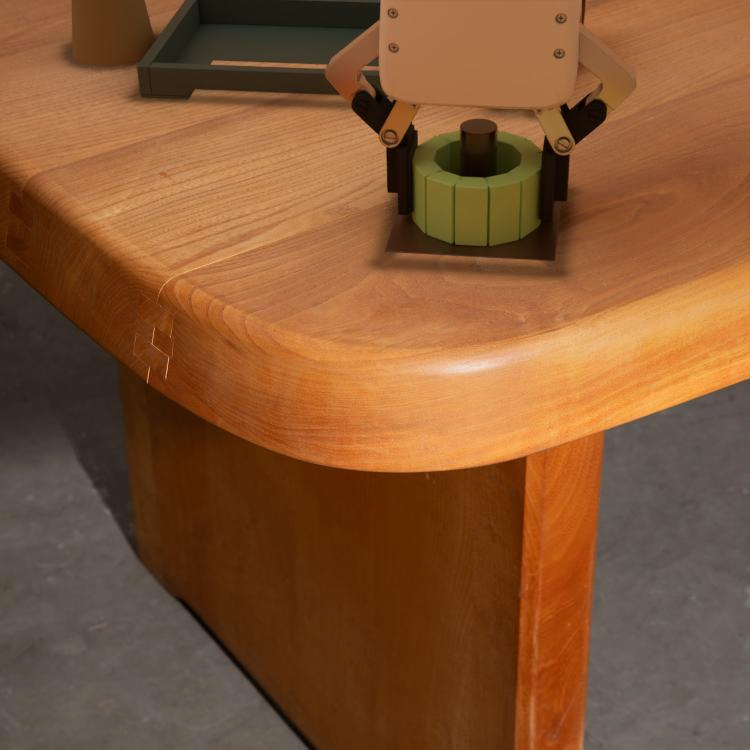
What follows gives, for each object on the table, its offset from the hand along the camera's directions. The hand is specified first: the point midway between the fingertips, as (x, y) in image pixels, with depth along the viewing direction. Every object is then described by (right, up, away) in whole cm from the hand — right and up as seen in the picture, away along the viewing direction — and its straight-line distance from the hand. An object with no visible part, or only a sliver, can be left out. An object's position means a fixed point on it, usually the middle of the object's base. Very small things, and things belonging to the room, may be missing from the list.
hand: (477, 204), depth 79 cm
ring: (0, 0, 0) cm, 1 cm away
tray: (-11, +12, +21) cm, 27 cm away
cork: (-24, +13, +24) cm, 36 cm away
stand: (0, -1, +1) cm, 2 cm away
